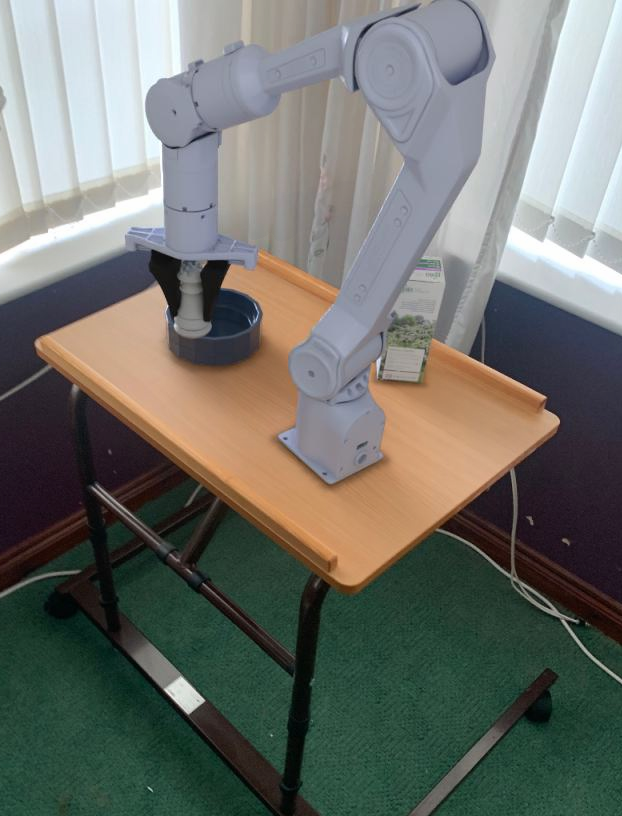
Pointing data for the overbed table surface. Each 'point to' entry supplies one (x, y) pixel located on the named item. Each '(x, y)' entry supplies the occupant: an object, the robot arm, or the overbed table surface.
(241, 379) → the overbed table surface
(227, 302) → the bowl
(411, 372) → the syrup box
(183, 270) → the rook chess piece
